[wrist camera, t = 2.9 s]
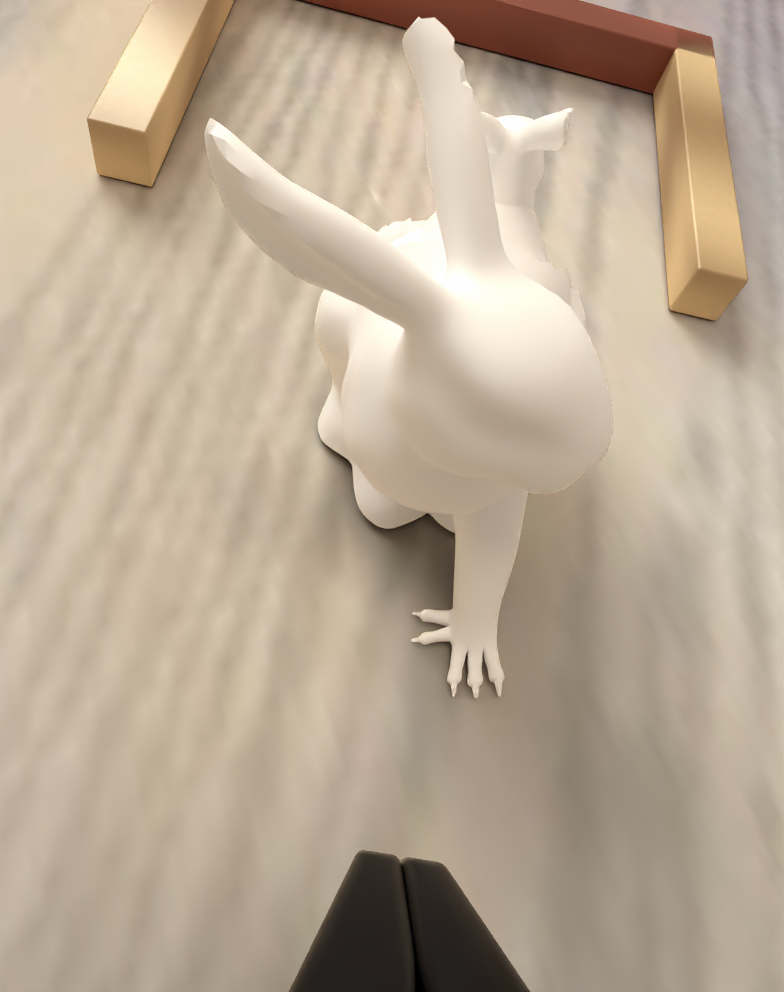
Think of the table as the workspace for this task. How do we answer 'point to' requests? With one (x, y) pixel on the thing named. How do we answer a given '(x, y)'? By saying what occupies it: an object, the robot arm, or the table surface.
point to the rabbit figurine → (443, 337)
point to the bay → (504, 29)
